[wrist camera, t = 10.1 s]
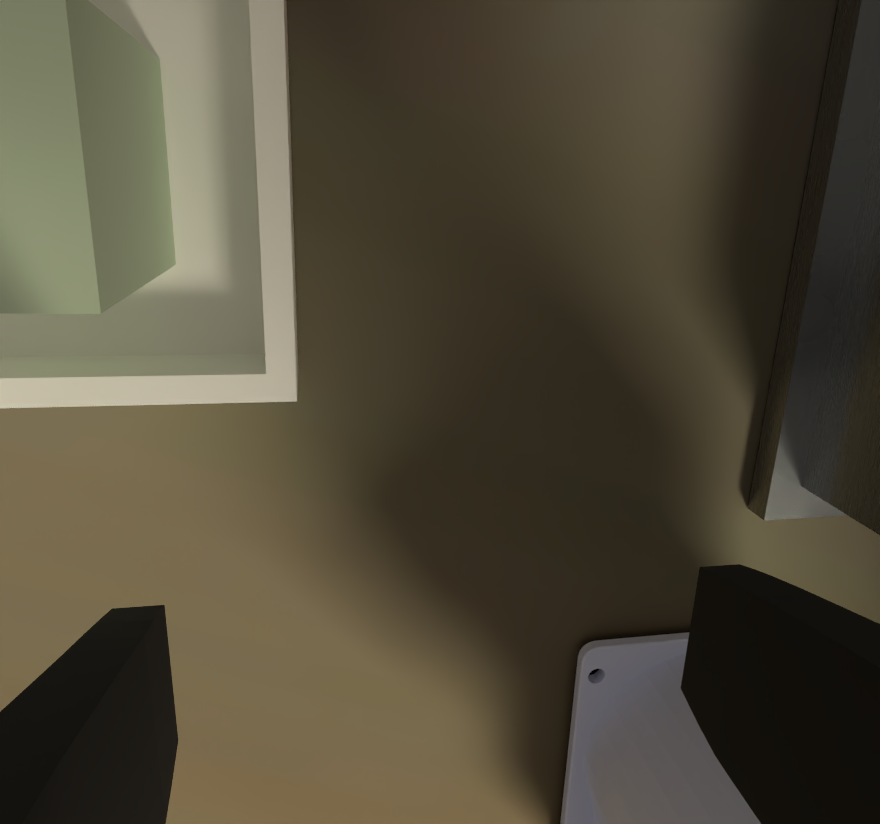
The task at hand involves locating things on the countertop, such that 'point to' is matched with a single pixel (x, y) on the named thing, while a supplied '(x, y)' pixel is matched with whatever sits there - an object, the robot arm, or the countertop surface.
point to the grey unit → (832, 305)
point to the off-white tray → (192, 233)
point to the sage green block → (79, 161)
